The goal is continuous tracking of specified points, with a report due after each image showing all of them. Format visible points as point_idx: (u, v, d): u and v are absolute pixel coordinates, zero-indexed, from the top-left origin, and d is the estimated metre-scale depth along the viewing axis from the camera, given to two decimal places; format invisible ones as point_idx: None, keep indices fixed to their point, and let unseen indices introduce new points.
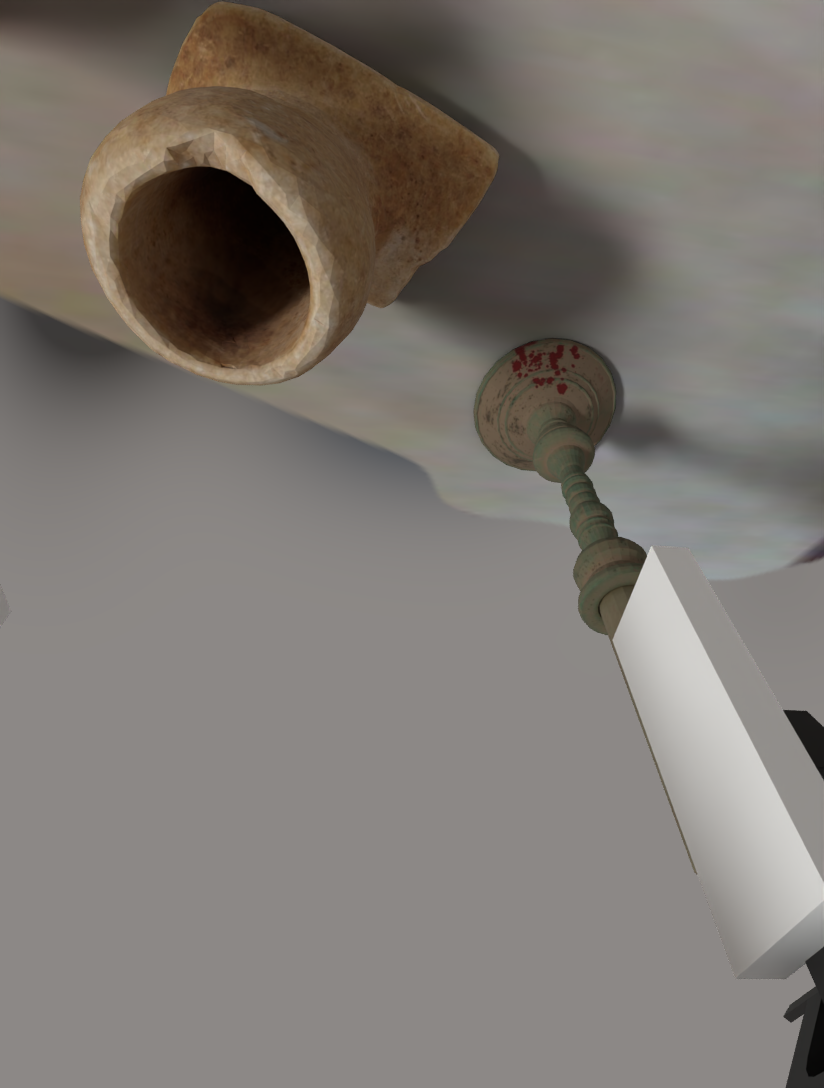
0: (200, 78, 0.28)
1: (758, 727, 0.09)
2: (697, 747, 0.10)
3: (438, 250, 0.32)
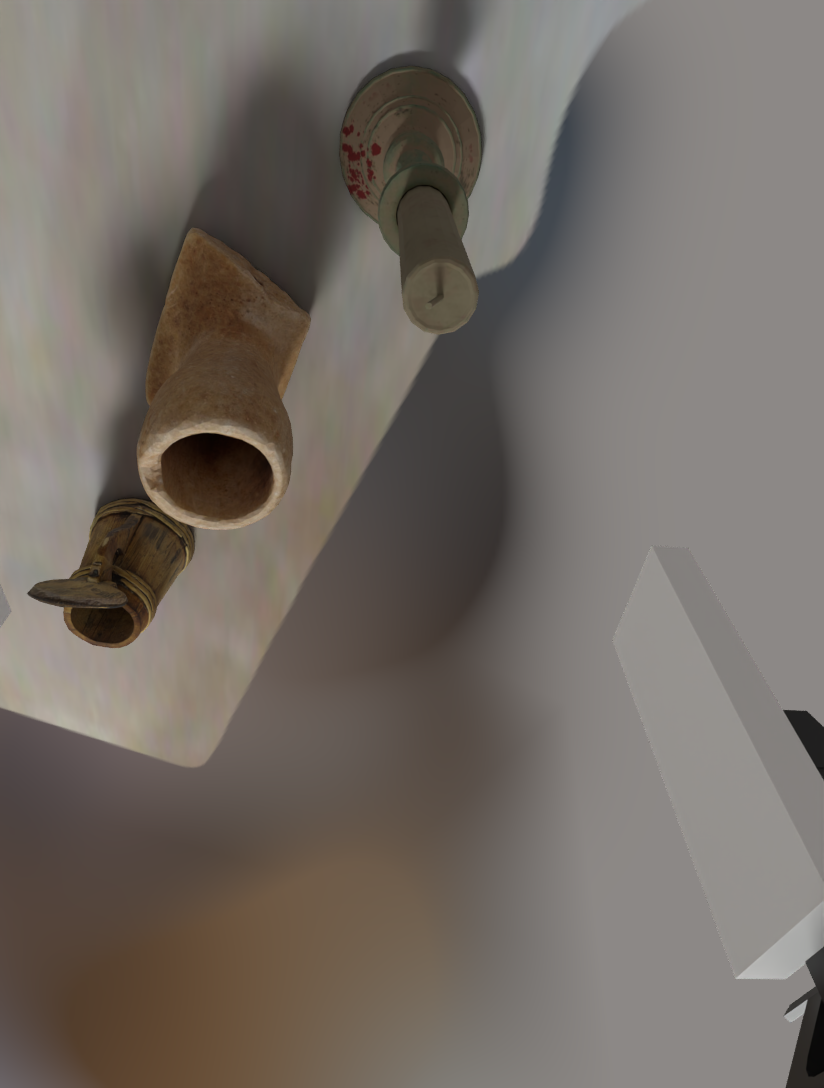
0: None
1: (758, 727, 0.09)
2: (697, 747, 0.10)
3: (254, 283, 0.42)
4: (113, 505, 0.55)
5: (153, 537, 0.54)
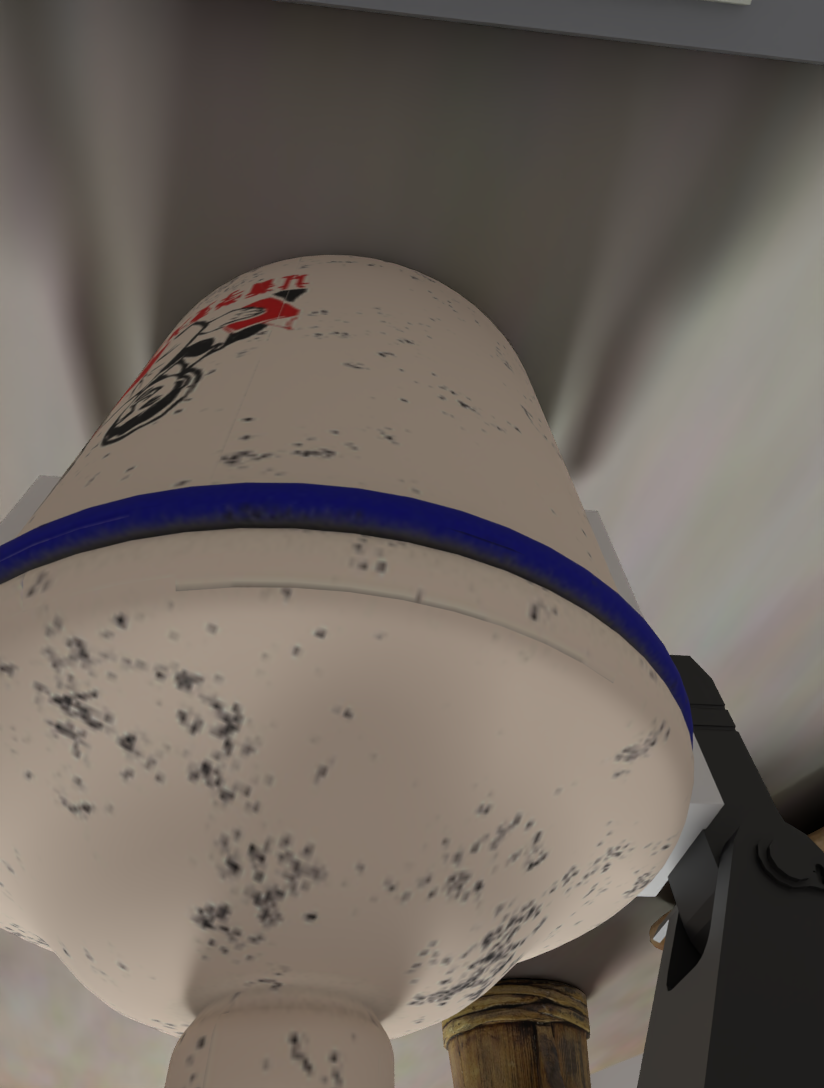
0: None
1: None
2: None
3: None
4: (500, 1001, 0.35)
5: (575, 1069, 0.34)
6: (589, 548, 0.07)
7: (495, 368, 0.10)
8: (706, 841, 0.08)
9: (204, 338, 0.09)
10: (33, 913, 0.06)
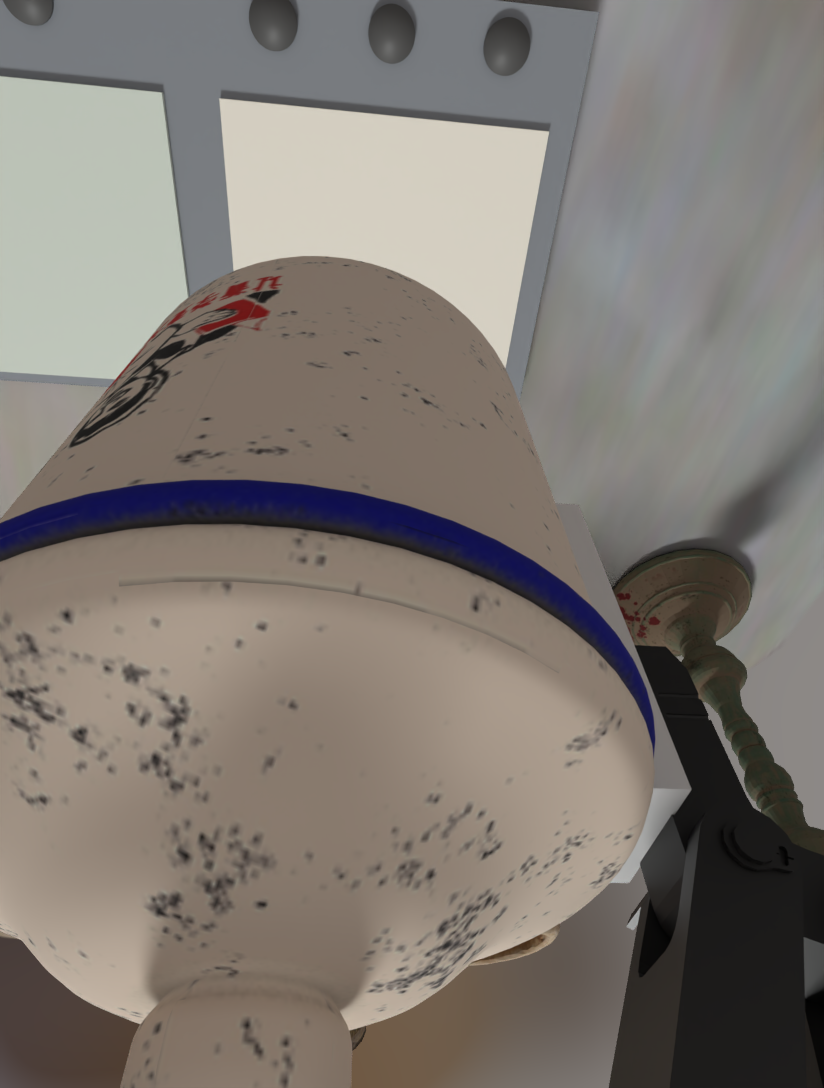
0: None
1: None
2: None
3: None
4: None
5: None
6: (550, 542, 0.07)
7: (466, 365, 0.10)
8: (674, 828, 0.09)
9: (176, 340, 0.09)
10: (0, 904, 0.06)
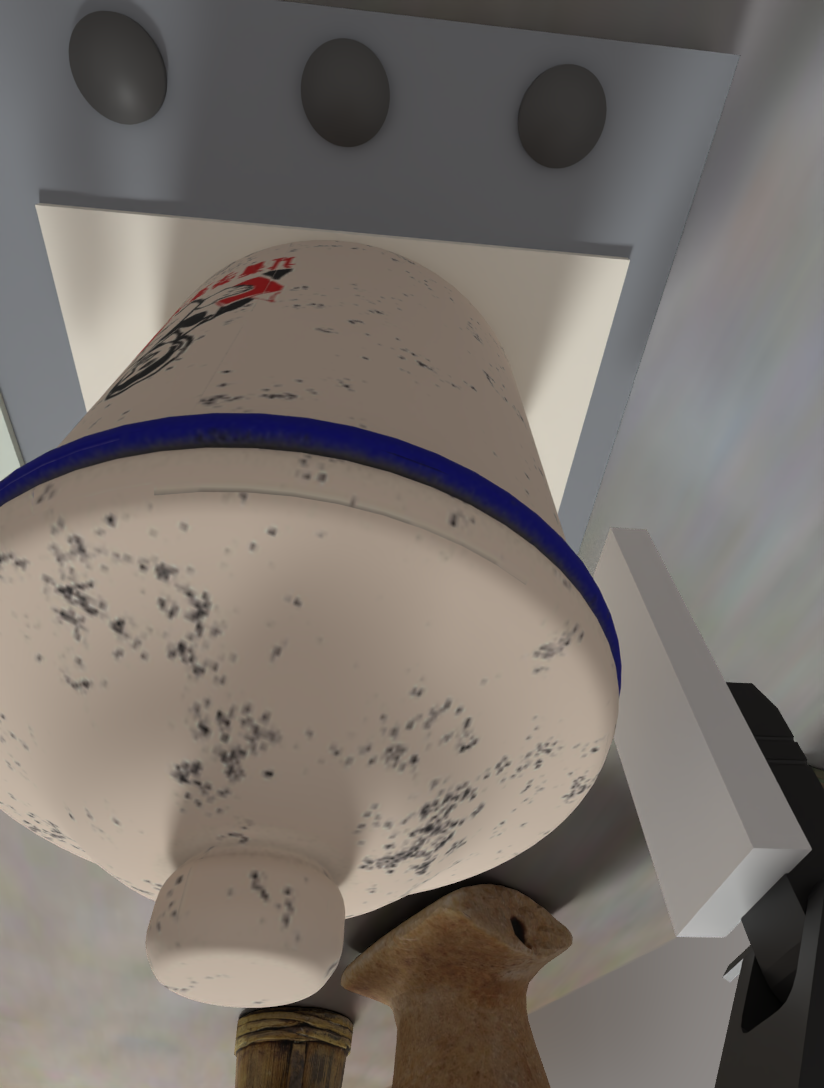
0: None
1: (699, 696, 0.09)
2: (647, 718, 0.11)
3: (525, 954, 0.32)
4: (269, 1024, 0.45)
5: (321, 1077, 0.44)
6: (529, 488, 0.08)
7: (462, 338, 0.11)
8: (790, 888, 0.08)
9: (199, 312, 0.10)
10: (44, 786, 0.07)
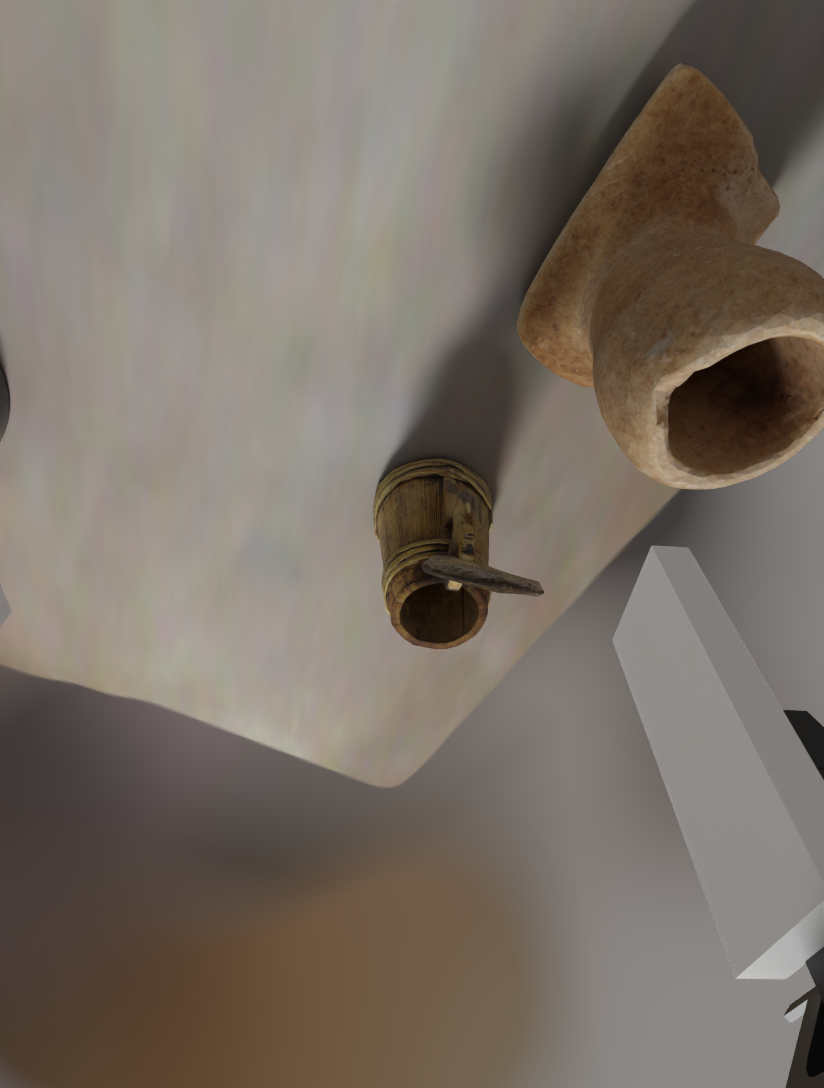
0: (559, 351, 0.37)
1: (758, 727, 0.09)
2: (697, 747, 0.10)
3: (752, 146, 0.30)
4: (416, 466, 0.43)
5: (473, 508, 0.42)
6: None
7: None
8: None
9: None
10: None
